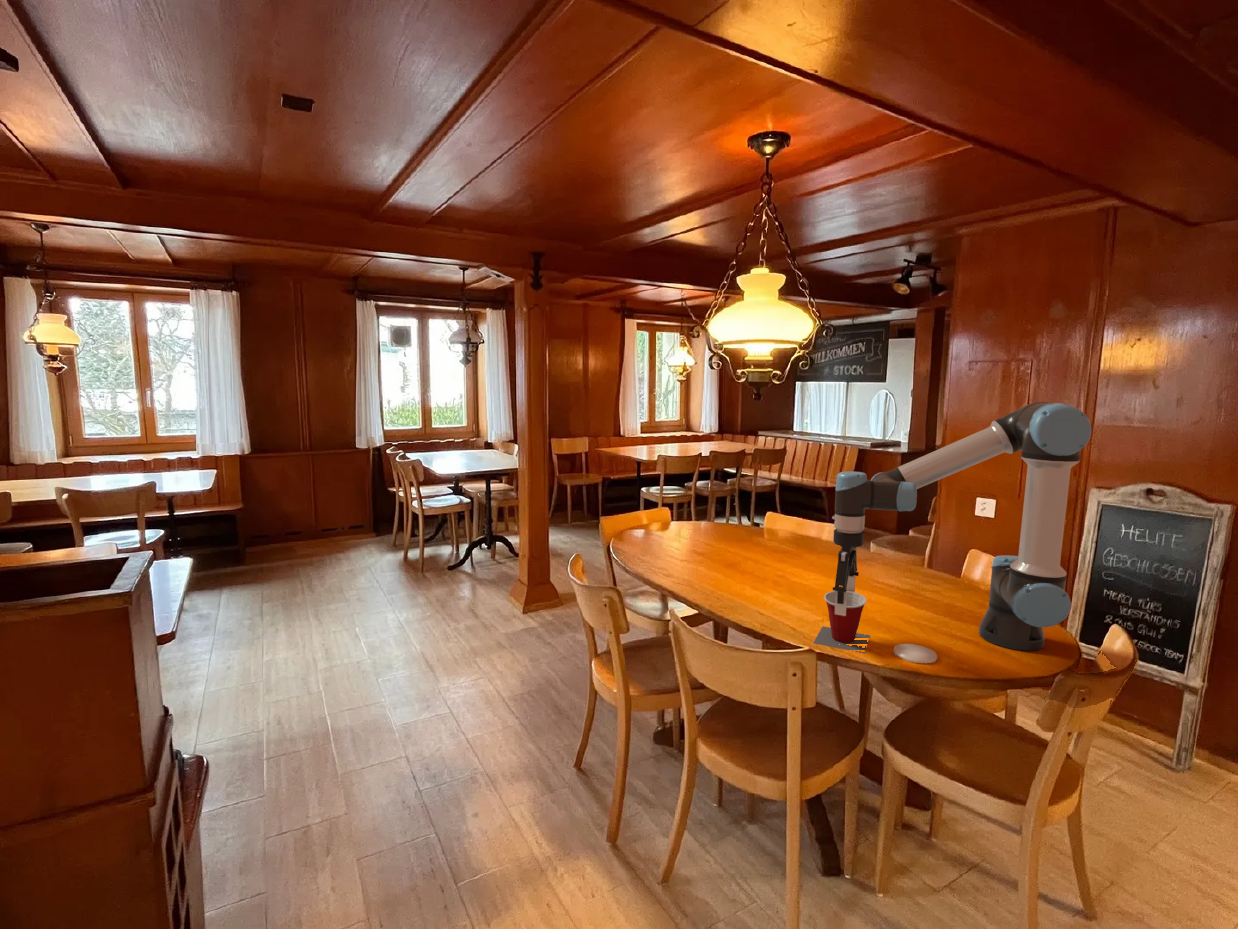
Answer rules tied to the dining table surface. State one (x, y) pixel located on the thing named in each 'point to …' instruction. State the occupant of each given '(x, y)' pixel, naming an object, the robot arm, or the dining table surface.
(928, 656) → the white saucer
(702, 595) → the dining table surface
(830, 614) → the plastic cup
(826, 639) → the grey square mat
